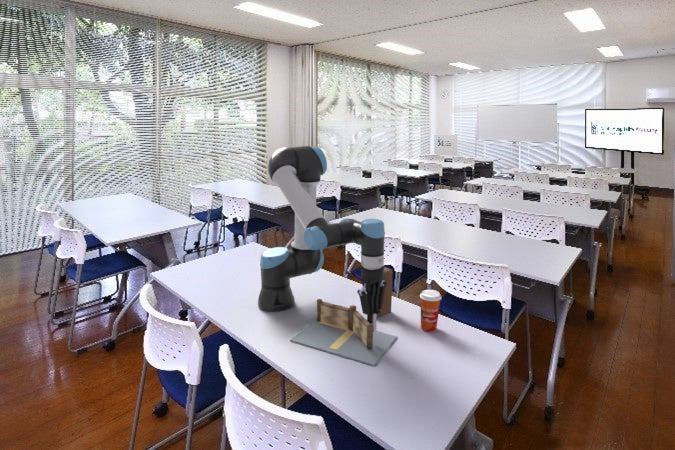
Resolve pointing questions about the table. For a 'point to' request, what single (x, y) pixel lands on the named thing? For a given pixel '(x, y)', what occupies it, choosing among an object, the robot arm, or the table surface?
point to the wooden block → (387, 292)
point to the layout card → (343, 342)
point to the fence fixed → (335, 314)
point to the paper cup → (429, 309)
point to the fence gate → (363, 329)
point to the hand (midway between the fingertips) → (372, 330)
